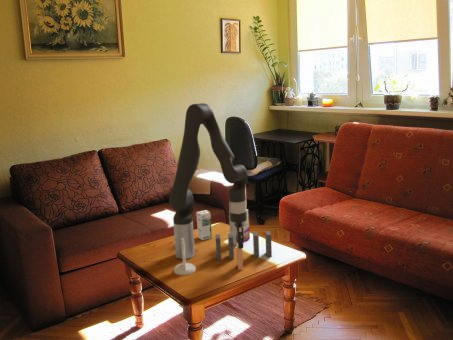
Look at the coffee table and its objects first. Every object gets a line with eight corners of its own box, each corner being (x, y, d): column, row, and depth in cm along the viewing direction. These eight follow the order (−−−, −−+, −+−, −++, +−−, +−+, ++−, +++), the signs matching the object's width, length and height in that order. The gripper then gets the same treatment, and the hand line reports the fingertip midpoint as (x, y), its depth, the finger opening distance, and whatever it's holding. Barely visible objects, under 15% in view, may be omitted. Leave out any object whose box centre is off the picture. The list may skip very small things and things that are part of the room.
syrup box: (202, 240, 249) (200, 214, 246) (197, 237, 254) (196, 211, 251) (212, 238, 252) (210, 212, 248) (207, 235, 257) (205, 209, 253)
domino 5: (267, 256, 225) (266, 235, 222) (265, 252, 230) (265, 231, 227) (271, 256, 225) (271, 234, 222) (270, 252, 230) (269, 231, 227)
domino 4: (254, 257, 224) (254, 235, 222) (253, 253, 229) (252, 232, 227) (259, 257, 225) (258, 235, 222) (257, 253, 229) (257, 231, 227)
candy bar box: (242, 237, 251) (241, 207, 247) (250, 239, 248) (249, 209, 244) (229, 244, 242) (228, 213, 239) (237, 246, 239) (236, 215, 236)
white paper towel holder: (173, 276, 209) (171, 244, 206) (174, 266, 219) (172, 236, 215) (195, 274, 210) (193, 242, 206) (195, 265, 219) (193, 234, 216)
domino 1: (217, 260, 223) (215, 238, 221) (216, 256, 228) (215, 234, 226) (221, 260, 224) (220, 238, 221) (220, 255, 228) (219, 234, 226)
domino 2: (229, 259, 224) (228, 237, 221) (228, 255, 229) (228, 233, 226) (233, 259, 224) (233, 237, 221) (233, 255, 229) (232, 233, 226)
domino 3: (238, 269, 212) (237, 246, 210) (237, 265, 217) (236, 242, 215) (242, 269, 212) (242, 246, 210) (241, 265, 217) (240, 242, 215)
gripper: (228, 206, 215) (230, 239, 219) (230, 215, 202) (232, 251, 205) (244, 204, 216) (246, 238, 219) (248, 214, 202) (250, 250, 206)
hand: (239, 244), depth 212 cm, fingers open, 8 cm apart
